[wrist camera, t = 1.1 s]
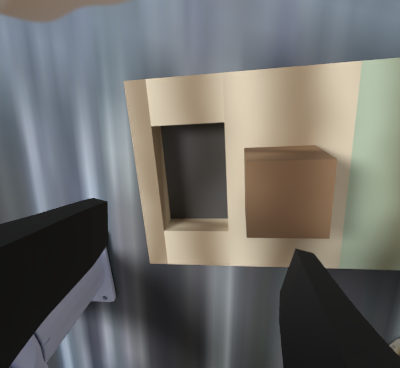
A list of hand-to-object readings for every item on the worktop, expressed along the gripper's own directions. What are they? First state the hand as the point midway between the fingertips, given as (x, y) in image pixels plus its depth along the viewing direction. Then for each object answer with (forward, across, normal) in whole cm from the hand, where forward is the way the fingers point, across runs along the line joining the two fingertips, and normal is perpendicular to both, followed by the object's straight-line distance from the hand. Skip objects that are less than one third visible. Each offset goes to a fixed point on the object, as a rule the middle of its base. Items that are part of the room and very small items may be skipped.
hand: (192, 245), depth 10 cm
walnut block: (+10, -4, 0) cm, 10 cm away
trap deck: (+12, -7, 0) cm, 14 cm away
